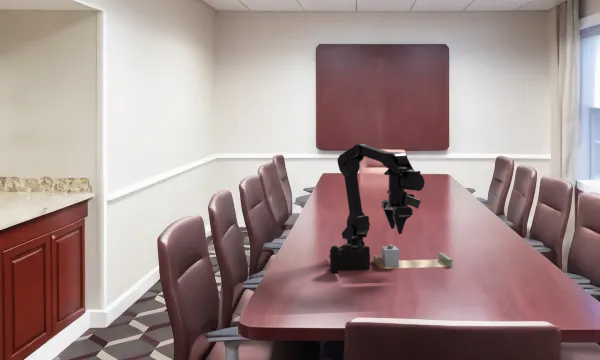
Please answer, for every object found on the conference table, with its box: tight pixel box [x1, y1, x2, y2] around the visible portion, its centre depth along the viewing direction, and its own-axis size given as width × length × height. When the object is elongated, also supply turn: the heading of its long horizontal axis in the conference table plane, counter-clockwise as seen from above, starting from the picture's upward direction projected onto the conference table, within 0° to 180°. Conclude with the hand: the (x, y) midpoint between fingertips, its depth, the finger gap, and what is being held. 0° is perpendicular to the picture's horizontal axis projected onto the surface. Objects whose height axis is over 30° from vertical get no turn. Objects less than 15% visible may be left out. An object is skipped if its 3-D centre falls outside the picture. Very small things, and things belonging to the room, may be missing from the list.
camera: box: [329, 243, 371, 274], centre depth 196 cm, size 14×11×10 cm
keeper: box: [380, 244, 400, 267], centre depth 198 cm, size 5×6×7 cm
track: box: [372, 252, 453, 270], centre depth 199 cm, size 26×10×4 cm, turn 95°
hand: (396, 231), depth 200 cm, fingers open, 9 cm apart
